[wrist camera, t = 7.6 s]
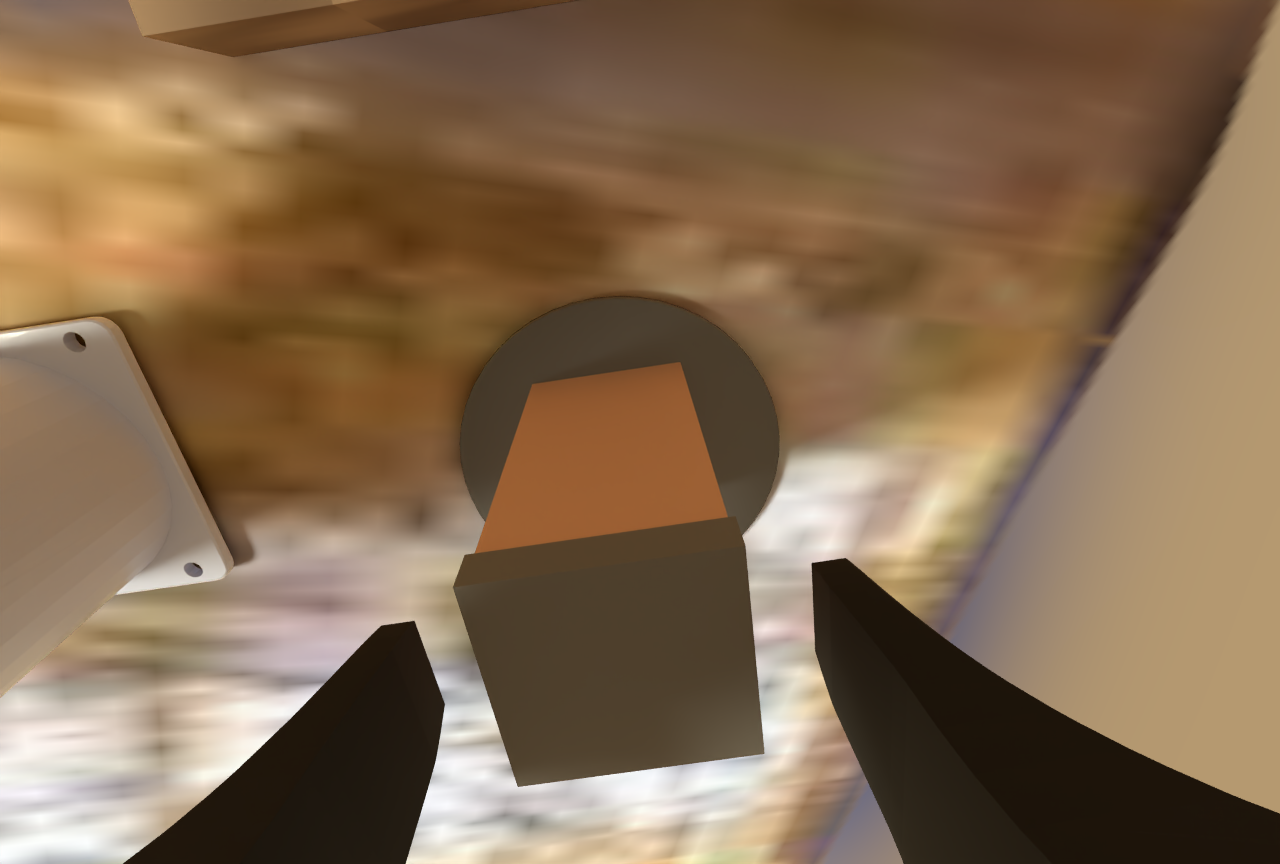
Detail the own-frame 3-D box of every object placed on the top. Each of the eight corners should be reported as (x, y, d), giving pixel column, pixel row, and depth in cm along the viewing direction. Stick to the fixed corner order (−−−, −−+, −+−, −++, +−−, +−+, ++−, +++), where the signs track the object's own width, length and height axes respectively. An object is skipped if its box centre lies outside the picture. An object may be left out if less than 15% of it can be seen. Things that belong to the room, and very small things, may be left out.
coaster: (503, 597, 21) (501, 605, 20) (424, 324, 17) (420, 327, 17) (784, 558, 20) (787, 565, 20) (766, 271, 17) (769, 274, 16)
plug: (558, 514, 19) (517, 787, 11) (528, 381, 17) (452, 586, 9) (700, 494, 19) (764, 753, 11) (683, 357, 17) (745, 546, 9)
